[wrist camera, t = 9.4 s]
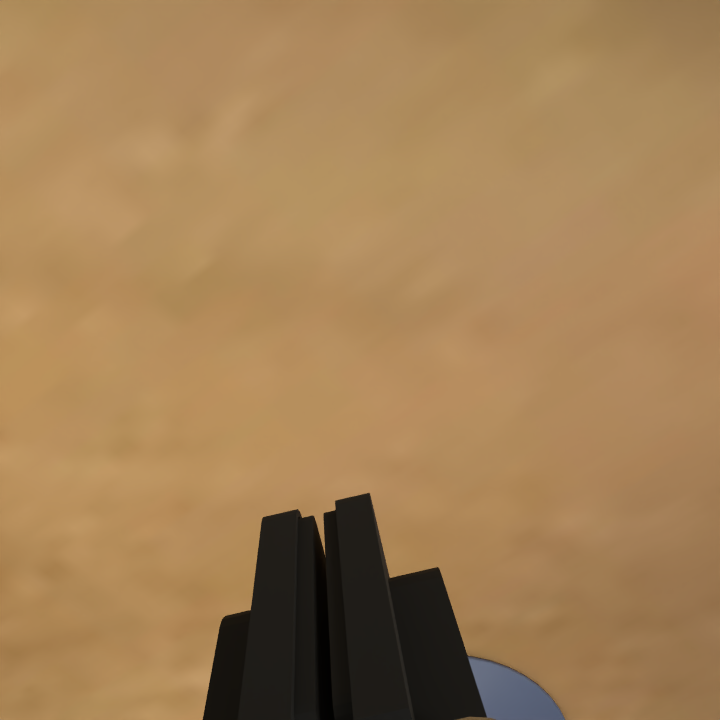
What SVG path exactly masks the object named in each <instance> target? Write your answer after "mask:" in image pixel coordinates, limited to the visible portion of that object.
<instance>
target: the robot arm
mask: <svg viewBox="0 0 720 720" xmlns="http://www.w3.org/2000/svg"><path fill="white" fill-rule="evenodd" d="M335 506H336V510H335V511H331V512H326V513H324V535H325V554H324V550H323V546H322V542H321V539H320V535H319V531H318V528H317V524H316V521H315V518H314V516H309V517H304V518H302V517H301V514H300V511H299V510H298V509H297V510H292V511H288V512H284V513H279V514H275V515H271V516H266V517H263V518H262V523H261V532H260V540H259V548H258V556H257V565H256V573H255V581H254V589H253V598H252V606H251V610H249V611H245V612H241V613H236V614H232V615H228V616H225V617H224V618H223V619H222V621H221V625H220V628H219V634H218V639H217V645H216V650H215V656H214V661H213V667H212V672H211V678H210V683H209V689H208V694H207V700H206V705H205V710H204V716H203V720H496V719H493V718H487V715H486V712H485V709H484V706H483V703H482V700H481V697H480V693H479V690H478V687H477V684H476V681H475V678H474V675H473V672H472V669H471V665H470V662H469V659H468V656H467V653H466V650H465V647H464V644H463V641H462V637H461V634H460V631H459V628H458V625H457V622H456V619H455V616H454V613H453V609H452V606H451V603H450V600H449V597H448V594H447V591H446V588H445V585H444V581H443V578H442V575H441V572H440V570H439V568H438V567H436V568H432V569H428V570H423V571H419V572H415V573H410V574H406V575H402V576H397V577H393V578H390V577H389V573H388V569H387V565H386V560H385V556H384V552H383V547H382V543H381V539H380V535H379V530H378V526H377V522H376V518H375V513H374V509H373V505H372V500H371V496H370V493H367V494H362V495H358V496H354V497H349V498H345V499H341V500H336V501H335ZM325 556H326V557H325Z"/></svg>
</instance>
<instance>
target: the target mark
mask: <svg viewBox="0 0 720 720" xmlns="http://www.w3.org/2000/svg"><path fill="white" fill-rule="evenodd" d="M468 659H469V662H470V665H471V669H472V672H473V675H474V678H475V681H476V684H477V687H478V690H479V693H480V697H481V700H482V703H483V706H484V709H485V712H486V715H487V718H493V719H496V720H565V718H564V717H563V715H562V713H561V711H560V709H559V707H558V706H557V705H556V703H555V702H554V701H553V699H552V698H551V697H550V696H549V695H548V694H547V693H546V692H545V691H544V690H543V689H542V688H541V687H540V686H539V685H538V684H536V683H535V682H534V681H532V680H531V679H529V678H528V677H526V676H525V675H523V674H521V673H519V672H517V671H515V670H513V669H511V668H509V667H507V666H504V665H502V664H499V663H496V662H493V661H490V660H486V659H481V658H476V657H472V656H468Z"/></svg>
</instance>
